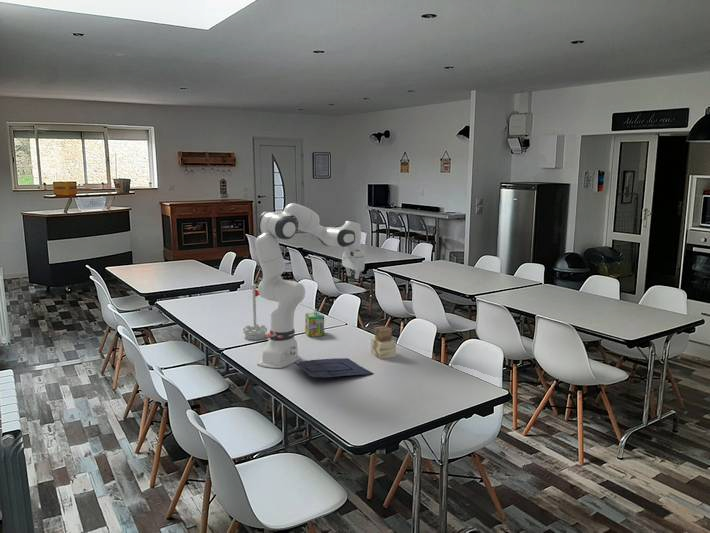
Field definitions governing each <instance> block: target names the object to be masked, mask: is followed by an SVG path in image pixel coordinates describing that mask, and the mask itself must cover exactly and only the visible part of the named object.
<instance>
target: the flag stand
mask: <svg viewBox="0 0 710 533" xmlns="http://www.w3.org/2000/svg"><path fill="white" fill-rule="evenodd" d="M250 287H251V290H252V313H253V315H252V318H253V326H251V324H248V325H245V326H243V328H242V332H243V334H244V335H245V338H246V340H261V339H264V338H266V333H267V332H268V326H266V325H265V324H261V325H259V324H258V323H257V303H256V302H257V297H258V296H260V295H259V293H258V289H256V288H257V285H256V284H255V283H252V284H251V286H250Z"/></svg>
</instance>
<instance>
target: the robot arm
mask: <svg viewBox="0 0 710 533" xmlns="http://www.w3.org/2000/svg"><path fill="white" fill-rule="evenodd" d="M320 221H321V220H320V216H319V214H317V212H315V211H314V210H313V209H311V208H309V207H307V206H305V205H301V204H299V203H294V202H292V203H289V204H286V206H285V207H284V209H283V211H282V213H281V212H275V211H272V210H268V211H263V212H262V213H260V215H259V217H258V220H257V226H258V228H257V229H258V230H257V231H258V233H259V234H260V235H258V236H257V237H256V238H255V241H254V244H255V251H256V256H257V260H258V262H259V265H260V269H261V272H262V279H261V281H260V282H259V284H258V287H257V290H258V293H259V295H258V296H260V297H261V298H263V299H265V300H268V301H271V302H273V301H274V302H278V306H277V309H275V310H273V311H272V312H271V314H270V330H269V332H268V333H267V334H266V337H267V338H269V339H268V340H267V343H266V344H265V347H264V348H263V350H262V353H261V355H262V357H261V358H260V359H259V360H258V362H257V365H258V366H259V367H264V368H271V369H272V368H273V369H282V368H286V367H287V366H289V365H291V364H294V363H296V362H298V361H299V360H301V359H302V357H301V356H300V355H299V346H298V342H297V340H296V338H295V335H296V331H295V328H294V327H295V326H294V323H295V322H294V317H295V311H296V309H297V307H298V305H299V304H300V303H302V301H303V300H304V299H305V296H306V289H305V286H304V285H303V283H300V282H298V281H294V280H291V279H290V280H289V279H283V277H282V274H284V272H285V270H286V262H285V260H284V256H283V254H282V250H281V247H280V240H285V241H286V240H290V239H292V238H293V237H295V235H296V234H297V231H298V230H299V231H301V232H305V233H309V234H311V235H312V236H313V237H314V236H315V238H317V239H318V240H319V241H320V243H321V244H322V245H323V246H325V247H326V246H327V247H330V246H331V247H339V248H344V249H343V250H344V251H343V253H342V257H341V265H342V267H344V268H345V271H346V276H348V277H351V276H352V272H351V270H353V271H355V274H354V279H355V280H358V279H360V273H361V272H364V270H365V265H366V263H365V256H366V253H365V251H364V250H363V249H362V243H361V240H362V227H361V225H360V223H359V222H358V221H355V220H345V223H344V224H343V225H341V226H340V227H332V226H323V225H321V224H320Z"/></svg>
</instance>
